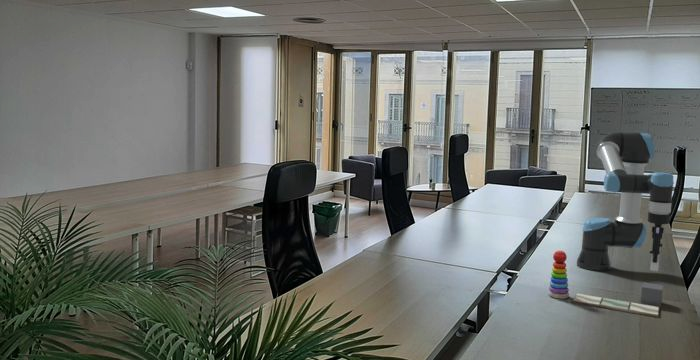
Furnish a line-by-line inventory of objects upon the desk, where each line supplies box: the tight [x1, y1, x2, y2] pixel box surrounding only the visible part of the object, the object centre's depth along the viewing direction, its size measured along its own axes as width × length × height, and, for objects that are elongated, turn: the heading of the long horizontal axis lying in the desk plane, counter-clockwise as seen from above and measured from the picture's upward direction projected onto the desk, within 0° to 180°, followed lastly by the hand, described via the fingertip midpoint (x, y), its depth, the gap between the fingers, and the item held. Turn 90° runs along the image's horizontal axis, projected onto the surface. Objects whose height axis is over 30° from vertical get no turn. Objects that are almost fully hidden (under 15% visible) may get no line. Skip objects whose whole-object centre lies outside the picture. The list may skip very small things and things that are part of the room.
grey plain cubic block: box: [640, 282, 664, 308], centre depth 228 cm, size 7×7×7 cm
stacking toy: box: [547, 250, 570, 300], centre depth 233 cm, size 8×8×19 cm
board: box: [571, 293, 660, 319], centre depth 224 cm, size 11×30×1 cm, turn 61°
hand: (654, 266), depth 226 cm, fingers open, 13 cm apart
